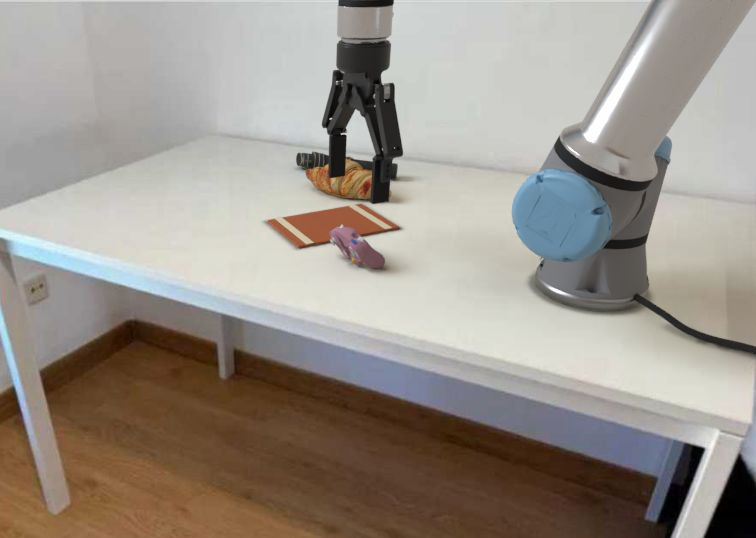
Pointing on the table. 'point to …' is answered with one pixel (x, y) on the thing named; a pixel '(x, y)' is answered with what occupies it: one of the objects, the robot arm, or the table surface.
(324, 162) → the twine-wrapped black handle
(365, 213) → the tea towel
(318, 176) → the croissant
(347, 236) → the video game controller
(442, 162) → the table surface
